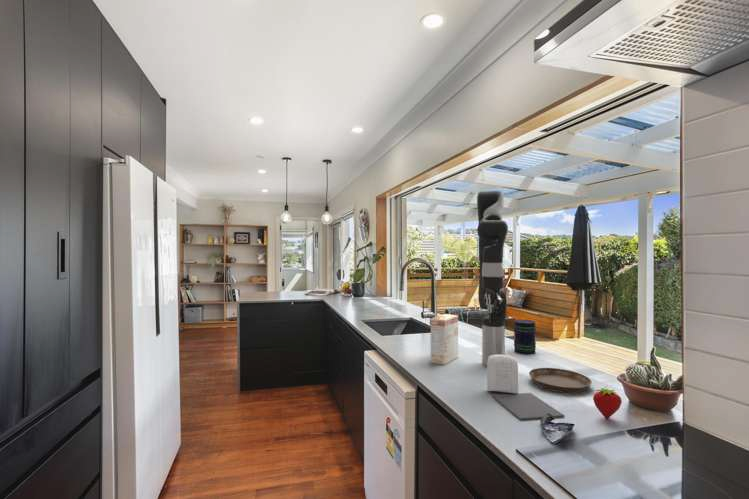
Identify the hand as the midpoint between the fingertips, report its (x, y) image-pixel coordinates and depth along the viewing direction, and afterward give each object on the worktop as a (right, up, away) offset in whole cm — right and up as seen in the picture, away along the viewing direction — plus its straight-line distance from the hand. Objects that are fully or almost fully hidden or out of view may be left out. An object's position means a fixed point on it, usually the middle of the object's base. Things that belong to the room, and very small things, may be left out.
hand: (492, 322), depth 138 cm
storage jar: (+30, -24, +47) cm, 61 cm away
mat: (+5, -23, -18) cm, 30 cm away
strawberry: (+25, -23, -27) cm, 43 cm away
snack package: (+6, -23, -36) cm, 43 cm away
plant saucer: (+25, -24, +2) cm, 34 cm away
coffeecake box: (-11, -23, +34) cm, 42 cm away
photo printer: (+1, -23, -7) cm, 24 cm away
